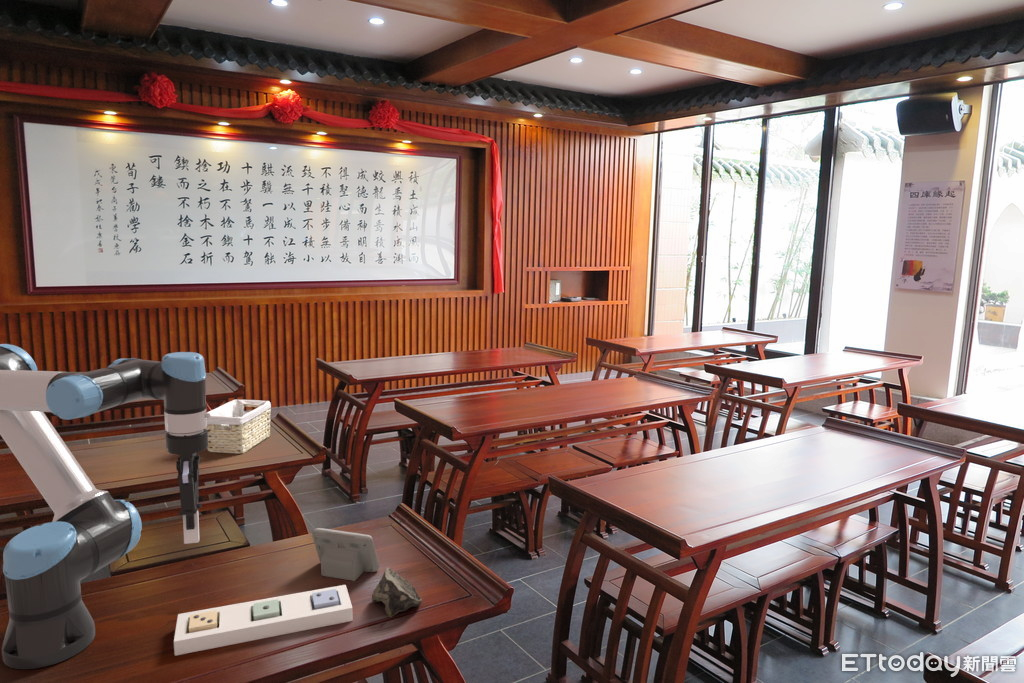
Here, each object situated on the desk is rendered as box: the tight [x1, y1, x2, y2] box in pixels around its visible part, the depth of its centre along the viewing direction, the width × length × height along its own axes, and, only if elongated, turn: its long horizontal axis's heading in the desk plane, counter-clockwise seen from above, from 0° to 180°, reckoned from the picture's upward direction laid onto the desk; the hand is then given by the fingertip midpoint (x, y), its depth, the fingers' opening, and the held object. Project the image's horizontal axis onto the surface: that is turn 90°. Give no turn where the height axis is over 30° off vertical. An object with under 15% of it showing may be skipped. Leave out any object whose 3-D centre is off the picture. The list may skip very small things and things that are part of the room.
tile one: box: [253, 599, 281, 621], centre depth 140 cm, size 5×5×4 cm
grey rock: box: [371, 567, 423, 618], centre depth 148 cm, size 11×9×10 cm
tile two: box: [312, 589, 339, 610], centre depth 145 cm, size 5×5×4 cm
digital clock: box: [311, 527, 380, 582], centre depth 162 cm, size 16×9×11 cm, turn 63°
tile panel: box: [173, 584, 354, 656], centre depth 141 cm, size 34×10×3 cm, turn 112°
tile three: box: [189, 610, 219, 633], centre depth 136 cm, size 5×5×4 cm
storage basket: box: [205, 399, 272, 455], centre depth 255 cm, size 24×16×15 cm
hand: (191, 541), depth 137 cm, fingers closed
